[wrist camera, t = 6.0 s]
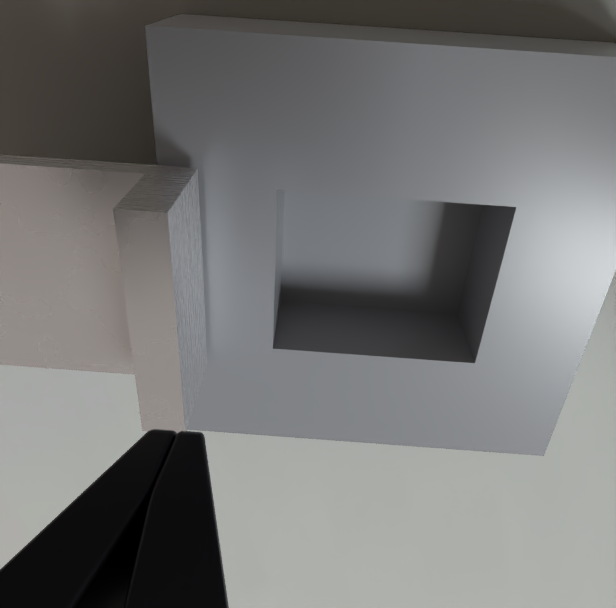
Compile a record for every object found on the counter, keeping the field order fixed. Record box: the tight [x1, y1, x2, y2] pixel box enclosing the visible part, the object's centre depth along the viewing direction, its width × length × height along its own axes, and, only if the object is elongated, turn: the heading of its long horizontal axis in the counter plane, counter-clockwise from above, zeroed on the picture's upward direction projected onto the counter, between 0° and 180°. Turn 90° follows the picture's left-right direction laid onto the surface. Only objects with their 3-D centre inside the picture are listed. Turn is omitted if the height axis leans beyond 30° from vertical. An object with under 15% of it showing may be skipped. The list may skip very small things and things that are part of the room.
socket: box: [145, 14, 616, 456], centre depth 15 cm, size 11×11×3 cm
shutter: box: [0, 154, 207, 433], centre depth 13 cm, size 6×6×3 cm
